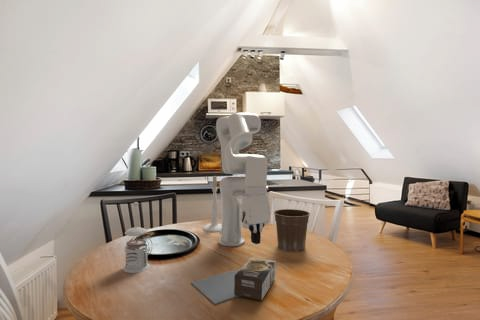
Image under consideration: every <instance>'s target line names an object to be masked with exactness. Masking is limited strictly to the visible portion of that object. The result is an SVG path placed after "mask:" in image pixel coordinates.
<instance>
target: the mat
mask: <svg viewBox="0 0 480 320" xmlns="http://www.w3.org/2000/svg"><path fill="white" fill-rule="evenodd" d="M239 270H240V269H234V270H230V271H227V272H223V273H220V274H217V275H212V276H208V277H205V278H201V279H198V280H195V281H191V283H190V284H191V285H192V286H194V287H195V288H196V289H197V290H198V291H199V292H200V293H201V294H202V295H203V296H204V297H206V298H207V299H208V301H210V302H211V303H212V304H213V305H215V306H216V305H218V304H221V303H224V302H227V301H230V300H233V299H236V298H239V297H240V296H238V295H234V284H235V274H236V273H237V272H238V271H239Z"/></svg>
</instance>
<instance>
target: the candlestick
mask: <svg viewBox="0 0 480 320" xmlns="http://www.w3.org/2000/svg"><path fill="white" fill-rule="evenodd" d="M217 178H218V177H217V176H216V175H213V176H212V187H211V190H212V192H213V194H212V205H211V206H212V208H211V211H212V212H211V223H208V224H205V225H204V227H203V231H204V230H205V231H204V232H207V231H208V233H220V232H221V231H222V223H219V217H218V216H219V215H218V199H217V198H218V197H217V196H218V194H217V192H218V189H219V188H218V187H217Z"/></svg>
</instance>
